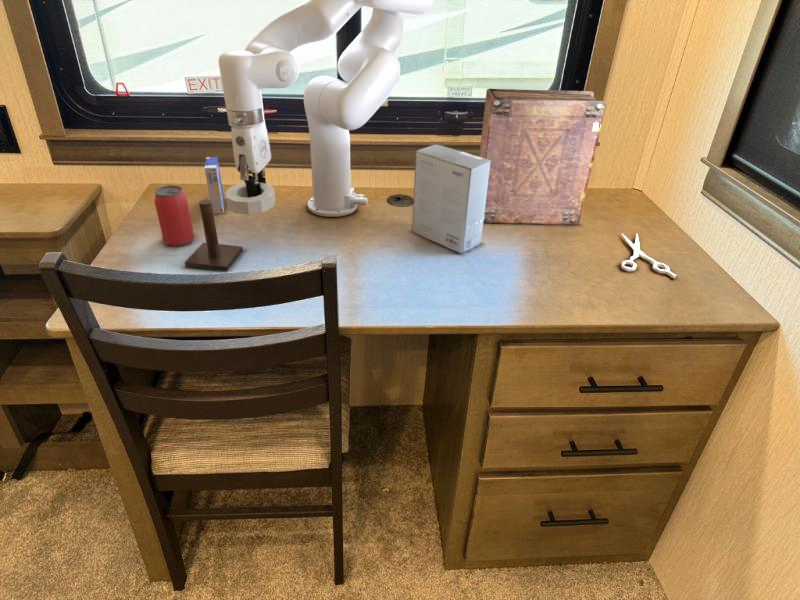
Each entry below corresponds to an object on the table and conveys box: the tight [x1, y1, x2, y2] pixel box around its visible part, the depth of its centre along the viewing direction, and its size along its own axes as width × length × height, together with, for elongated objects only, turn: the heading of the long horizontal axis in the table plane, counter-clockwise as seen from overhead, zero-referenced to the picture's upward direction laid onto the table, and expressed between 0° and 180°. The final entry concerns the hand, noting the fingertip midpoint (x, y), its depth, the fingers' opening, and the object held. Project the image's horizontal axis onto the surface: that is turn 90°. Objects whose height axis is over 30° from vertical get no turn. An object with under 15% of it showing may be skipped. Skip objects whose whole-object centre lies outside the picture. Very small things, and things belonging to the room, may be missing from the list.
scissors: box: [620, 232, 677, 279], centre depth 127 cm, size 11×1×20 cm
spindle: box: [184, 199, 244, 272], centre depth 115 cm, size 9×9×13 cm
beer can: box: [154, 185, 195, 247], centre depth 122 cm, size 7×7×12 cm
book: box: [478, 88, 607, 226], centre depth 133 cm, size 25×9×30 cm, turn 91°
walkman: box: [204, 156, 225, 214], centre depth 137 cm, size 8×3×12 cm, turn 13°
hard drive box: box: [411, 143, 491, 254], centre depth 125 cm, size 16×8×20 cm, turn 47°
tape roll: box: [224, 182, 277, 216], centre depth 123 cm, size 10×10×3 cm
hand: (257, 195), depth 127 cm, fingers closed on tape roll, 2 cm apart
